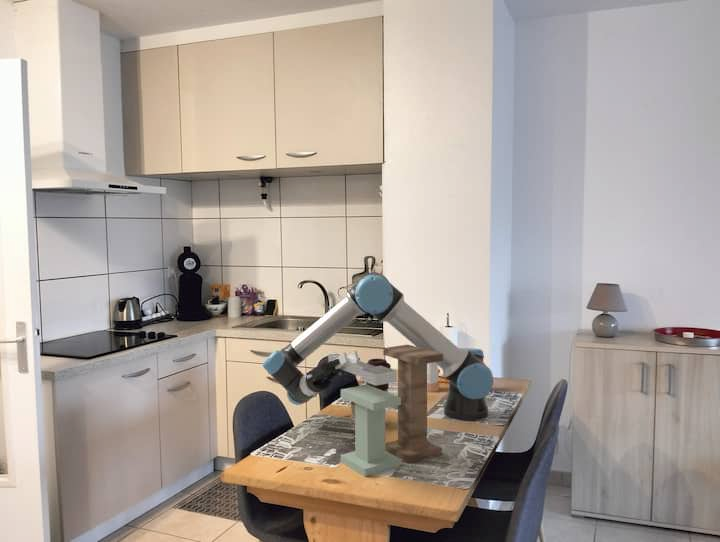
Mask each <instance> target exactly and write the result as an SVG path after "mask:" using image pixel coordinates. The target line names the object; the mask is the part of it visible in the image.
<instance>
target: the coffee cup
mask: <svg viewBox="0 0 720 542" xmlns="http://www.w3.org/2000/svg"><path fill="white" fill-rule="evenodd" d="M365 363H366V364H369V365H372V366H375V367H376V366H384V367H387V368H390V369H392V368H391V364H390V363H388V361H387V360H386V359H384V358H371V359H368V361H367V362H365ZM365 385H369V386H372V387H375V388H377V389H380V390H382V391H385V392H388V390H389V385H390V383H387V384H382V385H376V386H375V385H372V384H370V383H367V382H365ZM388 393H389V392H388Z"/></svg>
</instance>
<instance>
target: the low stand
mask: <svg viewBox="0 0 720 542" xmlns="http://www.w3.org/2000/svg"><path fill="white" fill-rule="evenodd" d="M340 397H341V398H343V399H345V400H347V401H350V402H351V401H352V402H354V403H355V418H354V431H355V432H354V438H355V439H354V441H355V442H354V443H355V445H354V447H355V448H354V449H355V450H354V451H350V452H347V453H342V454H340V463H342V464H343V465H345V466H346V467H349V468H350V469H351V470H352V471H355V472H356V473H358V474H360V475H362V476H363V477H368V476H372V475H374V474H378V473H382V472H384V471H389V470H392V469H396V468H399V467H401V466H402V465H401V461H402V460H401V459H400V458H398V457H396V456H394V455H392V454H390V453H388V452H386V451H385V443H386V409H388V408H392V407H398V405H401V397H398V395H395V394H393V393H391V392H385V391H382V390H380V389H377V388H375V387H372V386H369V385H366V384H361V385H356V386H351V387H347V388H341V389H340Z"/></svg>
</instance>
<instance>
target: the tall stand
mask: <svg viewBox="0 0 720 542" xmlns="http://www.w3.org/2000/svg"><path fill="white" fill-rule="evenodd" d="M382 355H383V356H386V357H389V358H393V359H396V360H397V396H398V397H401V405H398V406H397V440H393V441H389V442H385V451H386V452H388V453H390V454H392V455H394V456H396V457H398V458H400V459H401V461H403V462H405V463H407V464H409V465H410V464H412V463H416V462H419V461H423V460H427V459H429V458H434V457H437V456H440V455H442V454H443V453H442V452H443V451H442V450H443V448H442V446H439V445H437V444H434V443H433V442H430V441H428V392H427V364H428V363H433V362H439V361H443V354H442V353H438V352H434V351H430V350H427V349H423V348H419V347H416V346H415V345H410V344H402V345H396V346H387V347H383V353H382Z"/></svg>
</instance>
